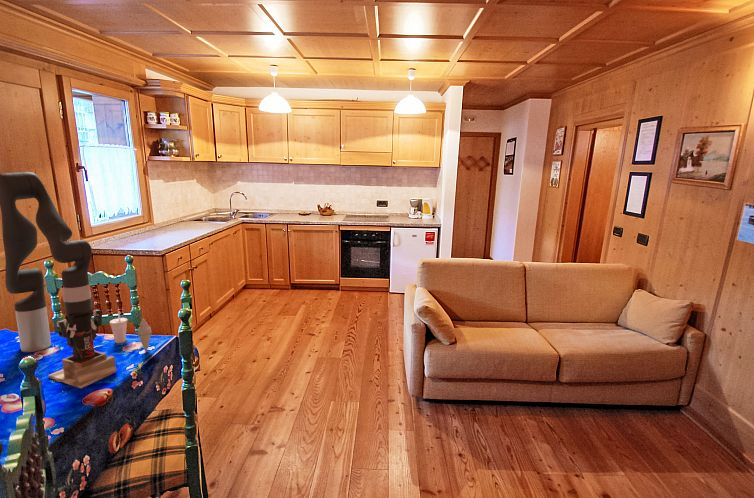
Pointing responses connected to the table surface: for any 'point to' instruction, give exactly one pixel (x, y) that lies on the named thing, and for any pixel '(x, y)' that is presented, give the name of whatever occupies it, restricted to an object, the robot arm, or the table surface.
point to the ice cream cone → (144, 333)
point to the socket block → (80, 363)
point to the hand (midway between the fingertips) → (82, 342)
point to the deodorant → (83, 337)
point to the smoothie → (119, 328)
